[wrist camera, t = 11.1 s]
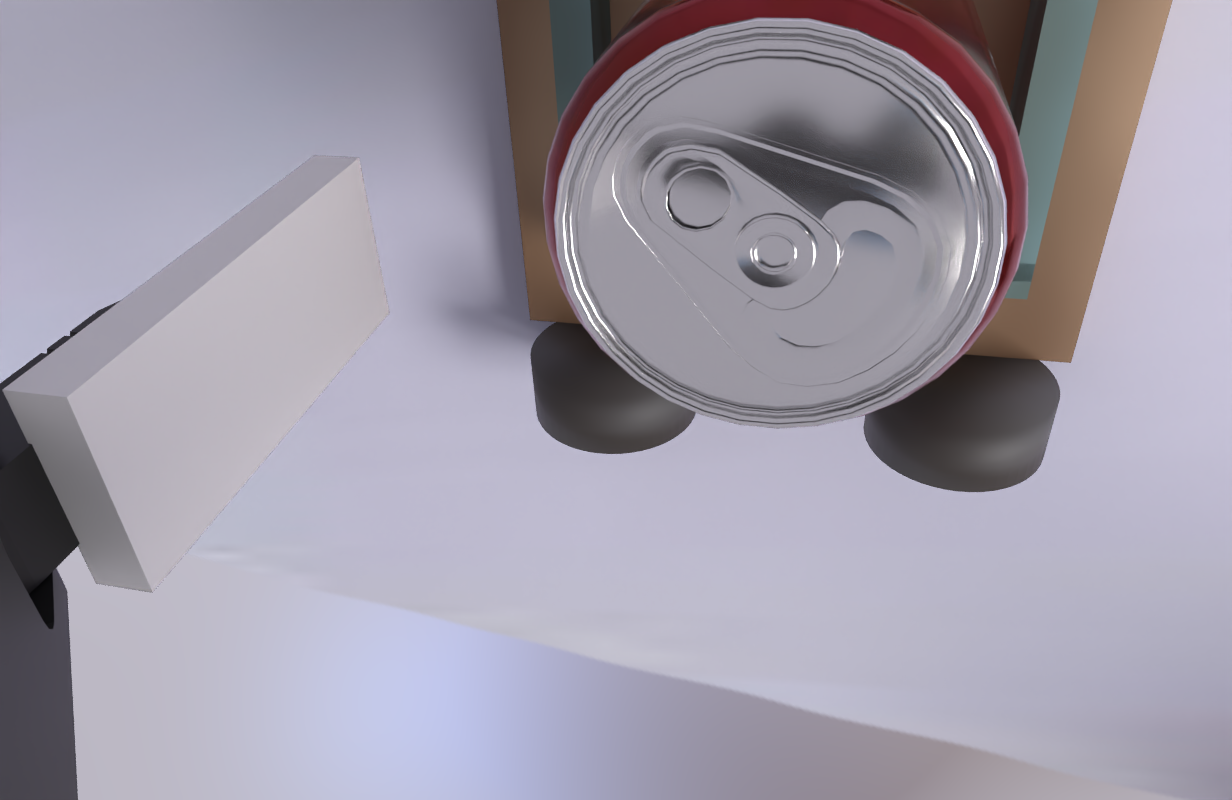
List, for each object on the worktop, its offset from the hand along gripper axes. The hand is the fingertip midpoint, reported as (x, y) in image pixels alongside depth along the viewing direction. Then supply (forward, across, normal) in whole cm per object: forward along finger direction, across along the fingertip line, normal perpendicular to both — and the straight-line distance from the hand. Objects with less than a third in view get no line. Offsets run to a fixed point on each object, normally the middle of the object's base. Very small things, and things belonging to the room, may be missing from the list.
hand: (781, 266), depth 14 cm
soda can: (+12, 0, 0) cm, 12 cm away
